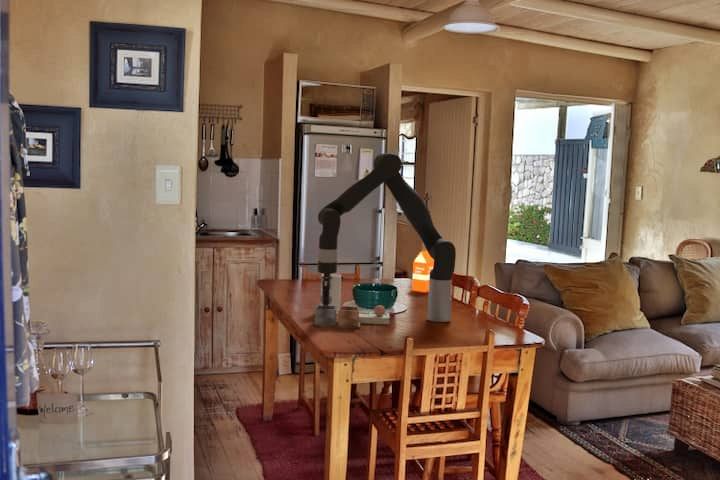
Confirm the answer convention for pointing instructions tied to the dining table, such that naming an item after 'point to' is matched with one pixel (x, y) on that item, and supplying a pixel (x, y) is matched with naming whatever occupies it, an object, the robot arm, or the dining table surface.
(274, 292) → the dining table surface
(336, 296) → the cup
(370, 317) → the pocket board
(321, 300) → the ball slate
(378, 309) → the ball terracotta
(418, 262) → the orange juice
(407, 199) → the robot arm
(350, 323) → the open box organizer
